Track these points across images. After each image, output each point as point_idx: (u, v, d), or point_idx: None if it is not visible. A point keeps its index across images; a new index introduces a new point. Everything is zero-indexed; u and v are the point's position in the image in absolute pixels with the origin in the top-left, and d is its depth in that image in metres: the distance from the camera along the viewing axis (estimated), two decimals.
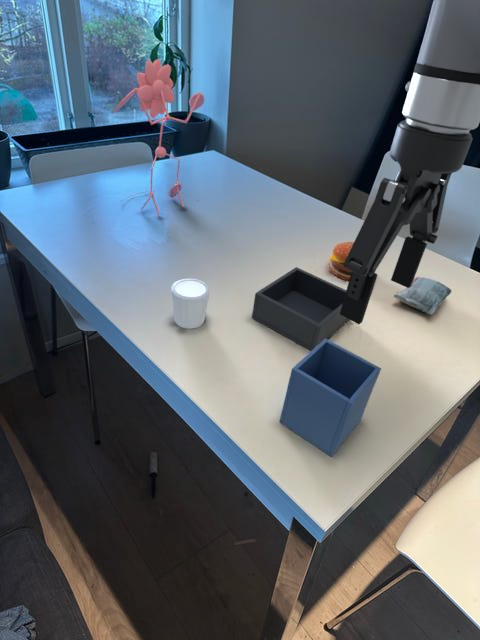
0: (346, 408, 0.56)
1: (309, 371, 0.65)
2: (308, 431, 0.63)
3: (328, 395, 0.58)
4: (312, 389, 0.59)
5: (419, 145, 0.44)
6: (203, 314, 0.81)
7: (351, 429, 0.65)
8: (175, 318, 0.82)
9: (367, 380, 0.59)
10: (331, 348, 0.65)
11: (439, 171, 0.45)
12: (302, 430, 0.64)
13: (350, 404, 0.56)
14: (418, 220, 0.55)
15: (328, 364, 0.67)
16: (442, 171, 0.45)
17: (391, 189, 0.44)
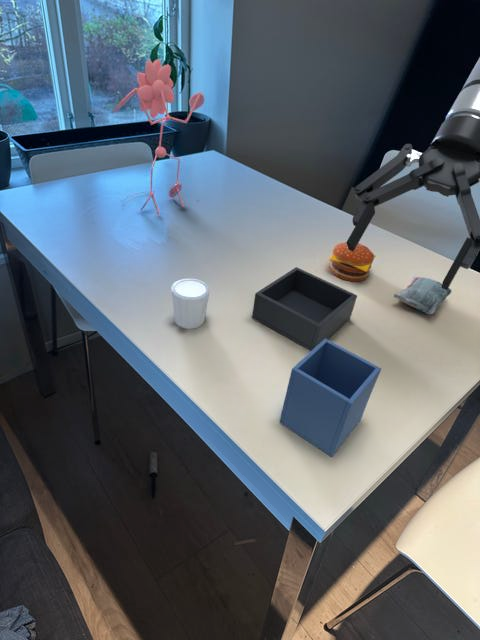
0: (346, 408, 0.56)
1: (309, 371, 0.65)
2: (308, 431, 0.63)
3: (328, 395, 0.58)
4: (312, 389, 0.59)
5: None
6: (203, 314, 0.81)
7: (351, 429, 0.65)
8: (175, 318, 0.82)
9: (367, 380, 0.59)
10: (331, 348, 0.65)
11: (440, 137, 0.60)
12: (302, 430, 0.64)
13: (350, 404, 0.56)
14: (465, 215, 0.59)
15: (328, 364, 0.67)
16: (442, 137, 0.59)
17: None
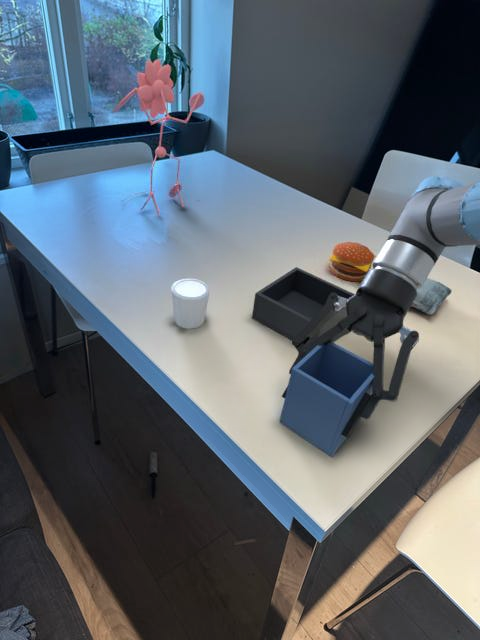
0: (346, 408, 0.56)
1: (309, 371, 0.65)
2: (308, 431, 0.63)
3: (328, 395, 0.58)
4: (312, 389, 0.59)
5: None
6: (203, 314, 0.81)
7: None
8: (175, 318, 0.82)
9: (367, 380, 0.59)
10: (331, 348, 0.65)
11: (363, 288, 0.62)
12: (302, 430, 0.64)
13: (350, 404, 0.56)
14: None
15: (328, 364, 0.67)
16: (365, 288, 0.62)
17: None
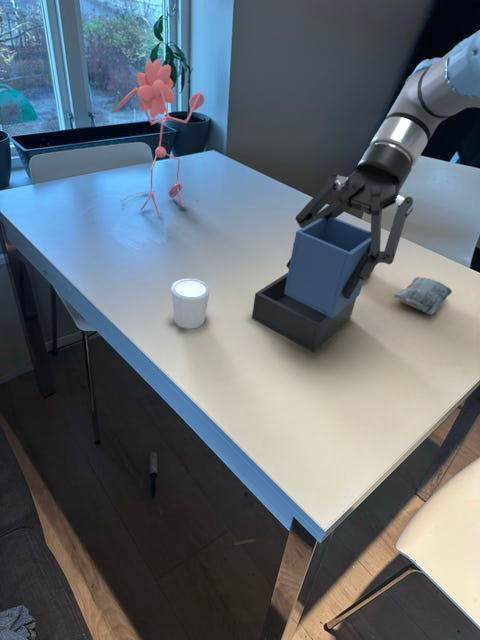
0: (346, 261, 0.62)
1: None
2: (311, 296, 0.68)
3: (329, 251, 0.63)
4: (314, 249, 0.64)
5: None
6: (203, 314, 0.81)
7: (350, 298, 0.70)
8: (175, 318, 0.82)
9: (365, 241, 0.64)
10: (332, 222, 0.70)
11: (362, 162, 0.67)
12: (305, 296, 0.69)
13: (350, 255, 0.61)
14: None
15: (329, 240, 0.72)
16: (363, 162, 0.67)
17: None
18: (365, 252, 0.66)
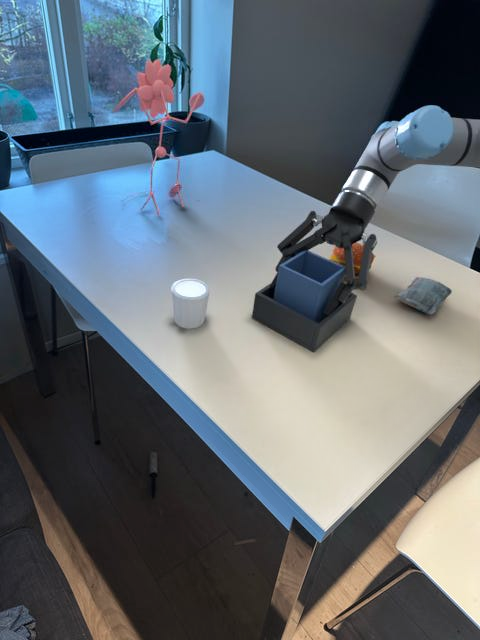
0: (319, 290, 0.76)
1: None
2: None
3: (305, 282, 0.77)
4: (294, 280, 0.79)
5: None
6: (203, 314, 0.81)
7: None
8: (175, 318, 0.82)
9: (335, 274, 0.79)
10: (310, 256, 0.85)
11: (334, 206, 0.82)
12: None
13: (321, 286, 0.76)
14: None
15: (308, 270, 0.86)
16: (335, 206, 0.82)
17: None
18: (336, 282, 0.80)
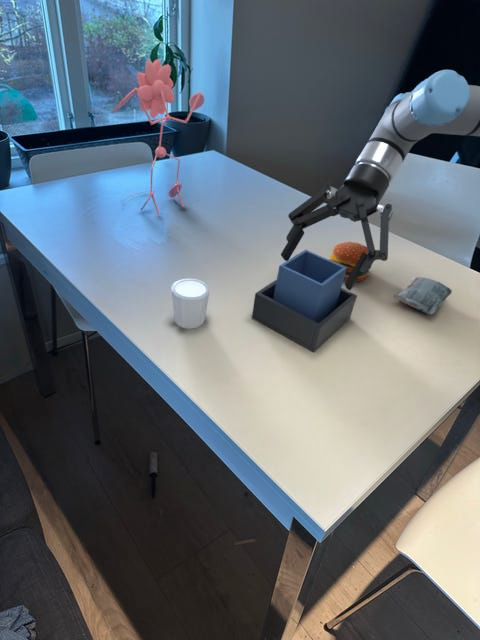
0: (319, 290, 0.76)
1: None
2: None
3: (305, 282, 0.77)
4: (294, 280, 0.79)
5: None
6: (203, 314, 0.81)
7: None
8: (175, 318, 0.82)
9: (335, 274, 0.79)
10: (310, 256, 0.85)
11: (348, 179, 0.81)
12: None
13: (321, 286, 0.76)
14: None
15: (308, 270, 0.86)
16: (349, 178, 0.81)
17: None
18: (336, 282, 0.80)
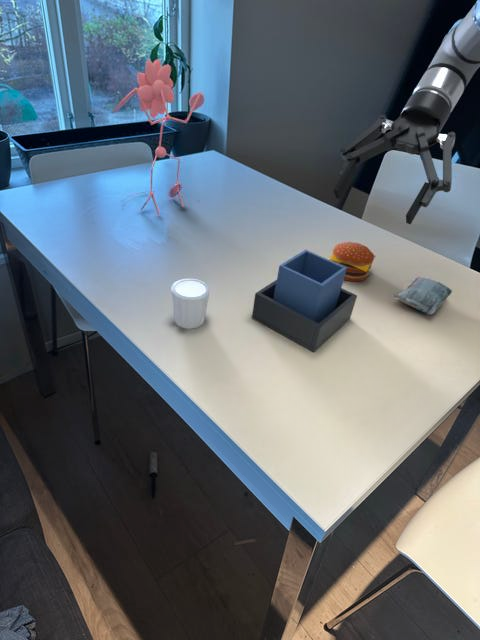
0: (319, 290, 0.76)
1: None
2: None
3: (305, 282, 0.77)
4: (294, 280, 0.79)
5: None
6: (203, 314, 0.81)
7: None
8: (175, 318, 0.82)
9: (335, 274, 0.79)
10: (310, 256, 0.85)
11: (406, 108, 0.77)
12: None
13: (321, 286, 0.76)
14: (425, 166, 0.76)
15: (308, 270, 0.86)
16: (408, 107, 0.77)
17: None
18: (336, 282, 0.80)
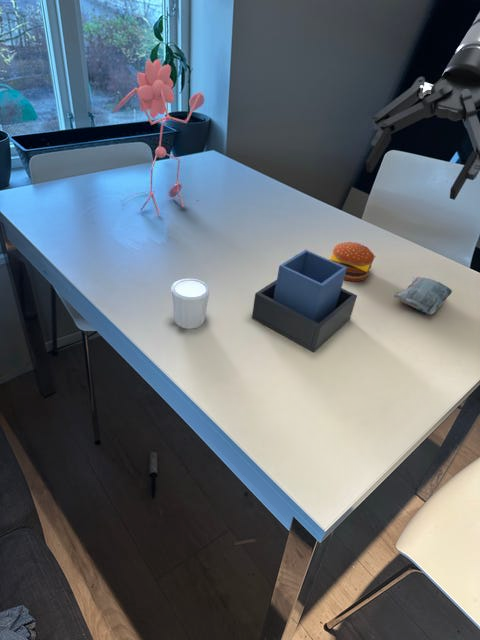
0: (319, 290, 0.76)
1: None
2: None
3: (305, 282, 0.77)
4: (294, 280, 0.79)
5: None
6: (203, 314, 0.81)
7: None
8: (175, 318, 0.82)
9: (335, 274, 0.79)
10: (310, 256, 0.85)
11: (450, 67, 0.68)
12: None
13: (321, 286, 0.76)
14: (471, 134, 0.67)
15: (308, 270, 0.86)
16: (451, 67, 0.67)
17: None
18: (336, 282, 0.80)
